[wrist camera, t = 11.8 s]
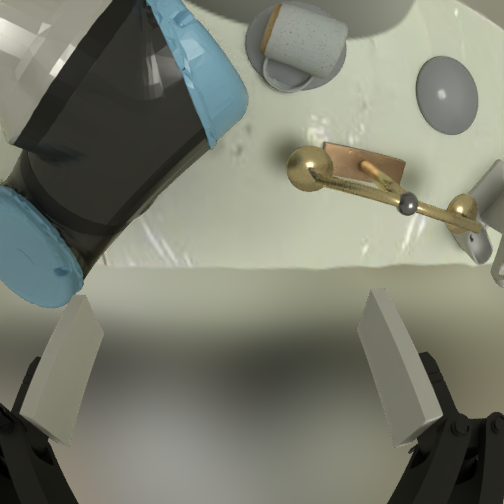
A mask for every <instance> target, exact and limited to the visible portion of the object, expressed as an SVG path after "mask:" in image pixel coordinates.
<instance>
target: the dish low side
mask: <svg viewBox="0 0 504 504" xmlns="http://www.w3.org/2000/svg"><path fill="white" fill-rule="evenodd" d="M277 4H289V5H294V6H297V7H301V8H304V9H306V10H309V11H313V12H316V13H319V14H322V15H324V16H327V17H329V18H332V17H331V16H330V15H329V14H328V13H327V12H325V11H324V10H322V9H320V8H318V7H317V6H314V5H311V4H308V3H304V2H298V1H288V2H281V3H277ZM277 4H274V5H271V6H269V7H267V8H266V9H264V10H263V11H261V12H260V13H259V14H258V15H257V16H256V17H255V19H254V20H253V21H252V23H251V24H250V27H249V29H248V32H247V36H246V49H247V53H248V57H249V59H250V61H251V63H252V65H253V67H254V68H255V69H256V71H257V72H258V73H259V74H260V75H261V76H262V77H264V74H263V64H264V60H265V58H266V57H265V55H263V54H262V53H261V52H260V50H259V47H260V43H261V40H262V37H263V34H264V31H265V28H266V26H267V23H268V20H269V18H270V15H271V13H272V11H273V8H274V7H275V5H277ZM332 19H333V18H332ZM345 57H346V41H345V44H344V47H343V50H342V52H341V54H340V57H339V59H338V61H337V63H336V64H335V66H334V68H333V70H332V71H331V72H330V74H329V75H328V76H327V77H326V78H324V79H320V78H318V77H314V79H313V80H312V81H311V82H310V84H308V85H307V86H306V87H305V88H304V89H301V90H309V89H314V88H317V87H320V86H322V85H324V84H326V83H328V82H329V81H331V80H332V79H333V78H334V77H335V76H336V75H337V74H338V73H339V71H340V70H341V68H342V66H343V64H344V61H345ZM267 66H268V67H267V70H268V73H269V75H270V76H271V77H272V78H276V79H277V80H278V81H280V82H282V83H284V84H287V85H289V86H296V85H299V84H301V83H302V82H304V81H305V80H306V79H307V78H308V77H309V75H310V74H309V73H307V72H304V71H302V70H299V69H297V68H295V67H292V66H290V65H287V64H284V63H281V62H278V61H275V60H273V59H269V60H268V64H267ZM264 78H265V77H264Z"/></svg>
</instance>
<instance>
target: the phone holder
mask: <svg viewBox="0 0 504 504" xmlns="http://www.w3.org/2000/svg"><path fill="white" fill-rule="evenodd" d="M468 195H470V196H472V197H473V198H474V199H475V200H476V202H477V206H478V213H477V217H476V220H475V222H478V223H480V224H481V230H480V232H479V233H478V234H476V233H474V232H471V231H468V230H467V231H466V232H464V233H462V234H454V233H452V232H451V233H452V234H453V236H454V237H455V239H456V241H457V242H458V244H459V246H460V247H461V248H462V249H463V250H464V251H465V252H466V253H467V254H468V255H469V256H470V257H471V258H472V259H473V261H474V262H475V263H476V264H477V265H482V264H484V263H486V262H487V261H488V260H489V258H490V257H491V255H492V251H493V246H492V244H491V241H490V239H489V237H488V234H487V232H486V229H487V228H488V227H489V226H490V227H492V228H493V229H495V230H497V231H498V232H500V233H501V234H503V235H502V238H501V241H500V244H499V248H498V251H497V254H496V257H495V260H494V262H493V265H492V268H491V275H492V276H493V278H494V280H495V282H496V283H497V284H498V285H499V286H500V287H502V288H504V275H503V276H502V275H500V274H501V272H502V271H503V270H504V162H503V161H501V160H496V162H495V163H494V164H493V165H492V166H491V168H490V169H489V170H488V171H487V172H486V174H485V175H484V176H483V177H482V178H481V180H480V181H479V182H478V183H477V184H476V185H475V186H474V188H473V189H472V190H471V191H470V192H469V193H468Z"/></svg>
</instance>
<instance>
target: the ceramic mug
mask: <svg viewBox="0 0 504 504" xmlns="http://www.w3.org/2000/svg"><path fill="white" fill-rule="evenodd" d="M347 34H348V27H347V25H346V24H345V23H343V22H340V21H338V20H335V19H332V18H329V17H327V16H324V15H322V14H319V13H316V12H313V11H309V10H306V9H304V8H301V7H297V6H294V5H289V4H277V5H275V7H274V8H273V11H272V13H271V15H270V18H269V20H268V23H267V26H266V28H265V31H264V34H263V37H262V40H261V43H260V47H259V50H260V52H261V53H262V54H263V55H265V57H266V58H265V60H264V64H263V74H264V77H265V79H266V81H267V82H268V83H269V84H270V85H271V86H272V87H274V88H276V89H278V90H280V91H283V92H288V93H292V92H297V91H299V90H301V89H304V88H305V87H306V86H307V85H308V84H310V82H311V81H312V80H313V79H314V77H318V78H320V79H324V78H326V77H327V76H328V75H329V74H330V72H331V71H332V70H333V68H334V66H335V64H336V63H337V61H338V59H339V57H340V54H341V52H342V50H343V47H344V44H345V41H346V38H347ZM269 59H273V60H275V61H278V62H281V63H284V64H287V65H290V66H292V67H295V68H297V69H299V70H302V71H304V72H307V73H309V74H310V75H309V77H308V78H307V79H306V80H305V81H304V82H302V83H301V84H299V85H296V86H289V85H287V84H284V83H282V82H280V81H278V80H277V79H276V78H272V77H271V76H270V75H269V73H268V70H267V67H268V66H267V64H268V60H269Z"/></svg>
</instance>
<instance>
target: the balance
mask: <svg viewBox="0 0 504 504" xmlns="http://www.w3.org/2000/svg"><path fill="white" fill-rule="evenodd" d="M405 164H406V162H404V161H403V160H400V159H397V158H393V157H389V156H386V155H382V154H378V153H374V152H370V151H365V150H361V149H357V148H352V147H348V146H343V145H338V144H333V143H328V142H324V146H323V149H321V148H319V147H317V146H303V147H300V148H298V149H297V150H295V151H294V152H293V153H292V154H291V155H290V157H289V159H288V161H287V165H286V171H287V175H288V178H289V180H290V182H291V183H292V184H293V185H294V186H295V187H296V188H298V189H300V190H302V191H306V192H312V191H317V190H319V189H321V188H323V187H326V188H330V189H334V190H338V191H342V192H346V193H350V194H353V195H357V196H361V197H365V198H368V199H372V200H375V201H379V202H382V203H386V204H389V205H393V206H396V207H397V210H398V211H399V212H400V213H401V214H403V215H405V216H410V215H413V214H414V213H415V212H416V213H419V214H422V215H425V216H428V217H431V218H434V219H437V220H440V221H443V222H445V224H446V226H447V228H448V229H449V230H450V231H451V232H452V233H454V234H462V233H464V232H466V231H467V230H468V231H471V232H474V233H476V234H478V233H479V232H480V230H481V224H480V223H478V222H475V220H476V217H477V213H478V206H477V202H476V200H475V199H474V198H473V197H472V196H470V195H468V194H460V195H458V196H457V197H455V198H454V199H453V200H452V201H451V203H450V204H449V206H448V208H447V210H443V209H440V208H438V207H435V206H432V205H429V204H426V203H423V202H420V201H418V199H417V197H416V196H415V195H414V194H413V193H411V192H406V191H405V190H404V189H403V188H402V187H401V186H399V185H400V181H401V178H402V175H403V171H404V168H405ZM332 175H335V176H340V177H346V178H351V179H356V180H361V181H366V182H371V183H374V184H375V185H376V186H377V187H378V188H380V189H378V188H374V187H371V186H367V185H364V184H360V183H356V182H353V181H349V180H345V179H341V178H337V177H333V176H332Z"/></svg>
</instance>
